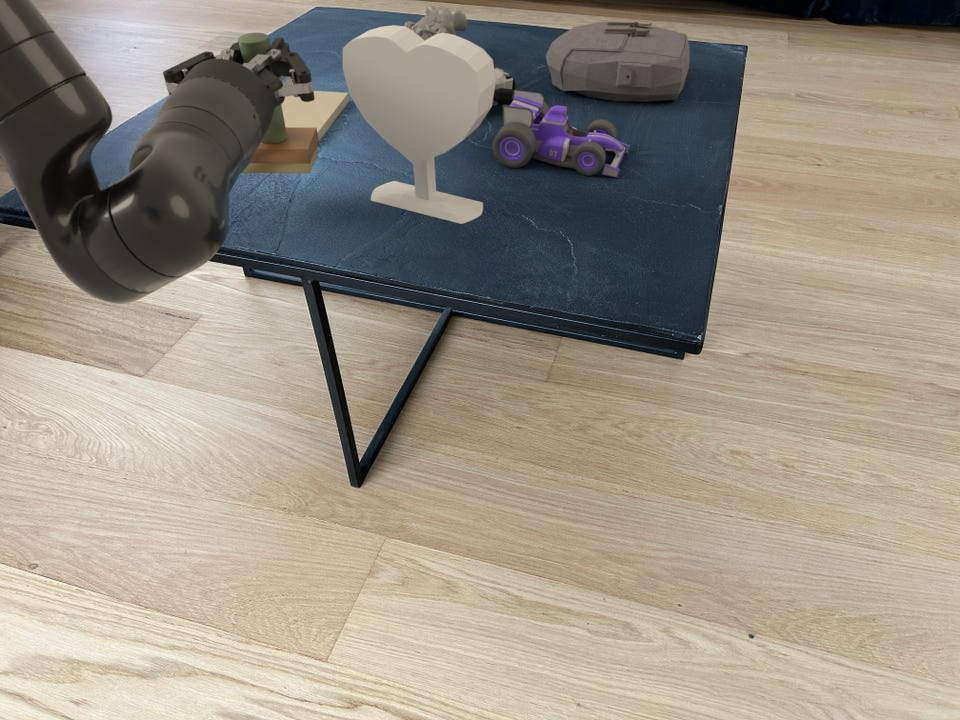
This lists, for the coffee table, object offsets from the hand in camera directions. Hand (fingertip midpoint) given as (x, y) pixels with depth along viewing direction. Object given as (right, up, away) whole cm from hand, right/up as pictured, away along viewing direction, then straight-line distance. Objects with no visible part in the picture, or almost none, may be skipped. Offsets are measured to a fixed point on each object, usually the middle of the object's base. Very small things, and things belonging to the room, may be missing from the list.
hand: (264, 48), depth 74 cm
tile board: (-8, +2, +27) cm, 28 cm away
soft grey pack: (+40, +9, +34) cm, 53 cm away
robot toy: (+19, +4, +29) cm, 35 cm away
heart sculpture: (+15, -13, +10) cm, 23 cm away
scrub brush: (0, -10, +5) cm, 11 cm away
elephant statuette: (+15, +15, +41) cm, 46 cm away
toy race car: (+31, -6, +18) cm, 37 cm away
